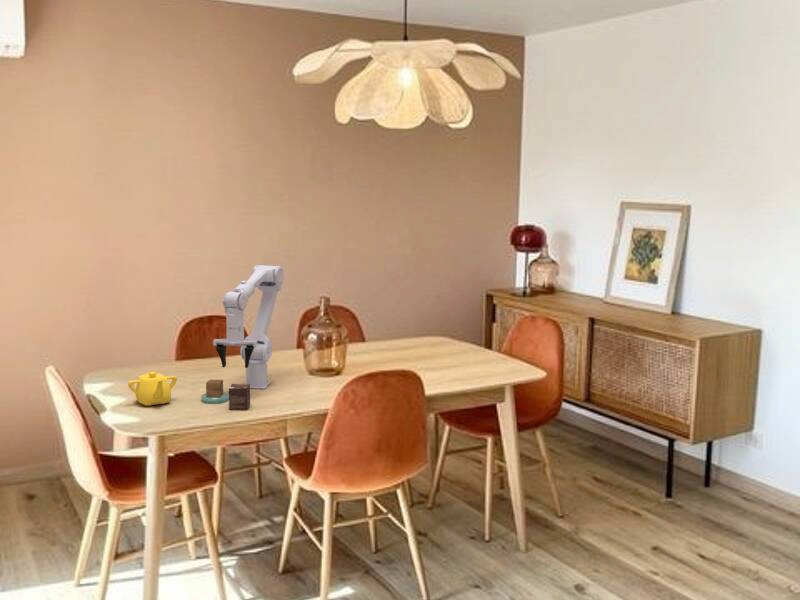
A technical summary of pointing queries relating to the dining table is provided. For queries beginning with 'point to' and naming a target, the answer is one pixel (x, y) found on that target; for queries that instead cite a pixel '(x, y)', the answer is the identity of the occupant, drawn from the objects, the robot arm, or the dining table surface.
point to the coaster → (215, 399)
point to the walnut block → (214, 388)
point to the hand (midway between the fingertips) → (235, 366)
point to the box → (239, 396)
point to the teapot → (152, 388)
